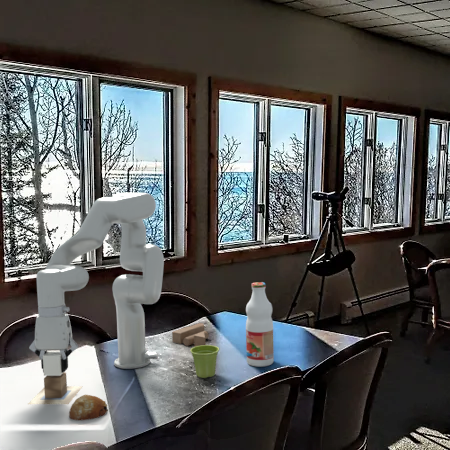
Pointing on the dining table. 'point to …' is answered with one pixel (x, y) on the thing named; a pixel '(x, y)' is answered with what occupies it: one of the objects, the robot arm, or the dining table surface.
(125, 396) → the dining table surface
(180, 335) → the wooden block set
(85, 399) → the bread roll
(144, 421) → the dining table surface
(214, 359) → the plant pot
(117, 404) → the dining table surface
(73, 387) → the birch board
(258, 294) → the fruit juice
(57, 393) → the walnut block
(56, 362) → the cream block
